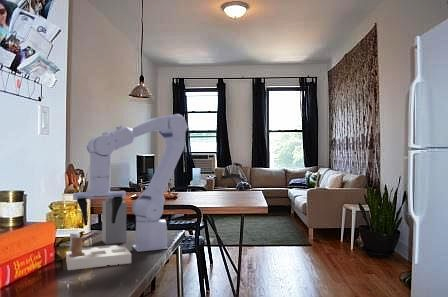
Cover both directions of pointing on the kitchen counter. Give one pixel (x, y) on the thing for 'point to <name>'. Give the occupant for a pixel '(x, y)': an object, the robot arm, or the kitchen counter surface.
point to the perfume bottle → (113, 230)
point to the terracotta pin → (76, 246)
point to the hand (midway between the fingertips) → (99, 223)
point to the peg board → (98, 258)
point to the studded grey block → (87, 247)
